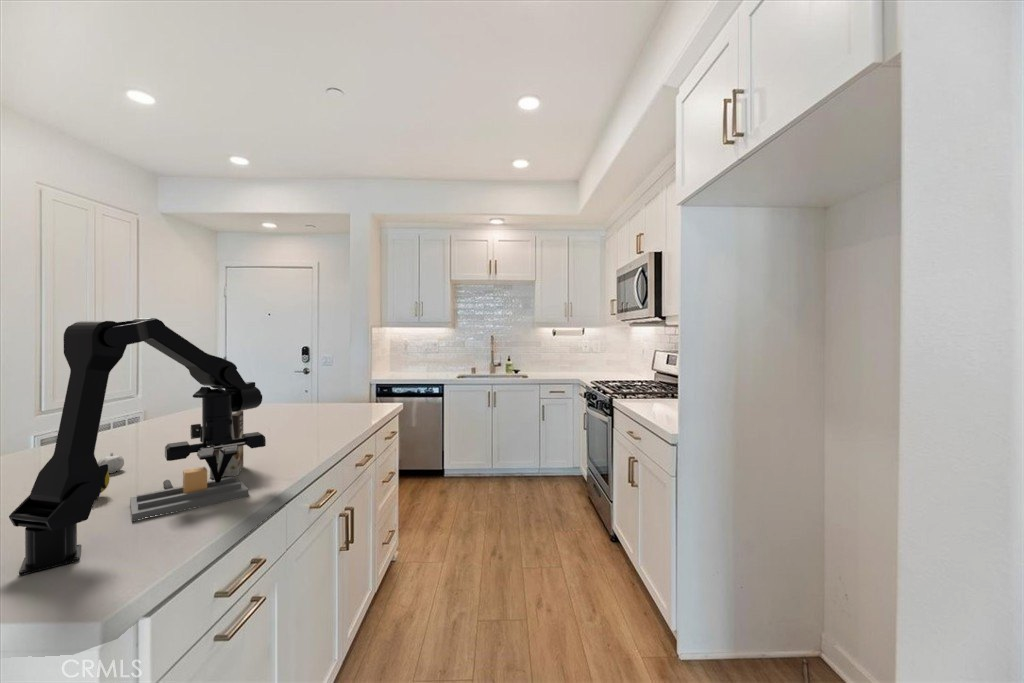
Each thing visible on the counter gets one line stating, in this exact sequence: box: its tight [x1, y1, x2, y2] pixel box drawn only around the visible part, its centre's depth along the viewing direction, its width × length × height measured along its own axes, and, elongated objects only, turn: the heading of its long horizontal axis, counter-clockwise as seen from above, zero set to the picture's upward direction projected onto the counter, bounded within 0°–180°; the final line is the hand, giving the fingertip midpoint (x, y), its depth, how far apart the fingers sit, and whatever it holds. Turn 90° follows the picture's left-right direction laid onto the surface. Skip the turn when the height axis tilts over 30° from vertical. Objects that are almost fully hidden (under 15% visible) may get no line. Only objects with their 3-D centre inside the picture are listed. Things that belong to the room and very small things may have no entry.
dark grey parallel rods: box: [162, 479, 174, 490], centre depth 103 cm, size 11×7×1 cm
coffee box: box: [209, 410, 244, 479], centre depth 115 cm, size 9×6×16 cm
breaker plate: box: [129, 476, 250, 522], centre depth 95 cm, size 12×20×2 cm, turn 133°
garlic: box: [97, 452, 125, 474], centre depth 115 cm, size 6×5×5 cm
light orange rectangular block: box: [182, 466, 208, 493], centre depth 96 cm, size 3×4×5 cm
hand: (217, 482), depth 98 cm, fingers closed
